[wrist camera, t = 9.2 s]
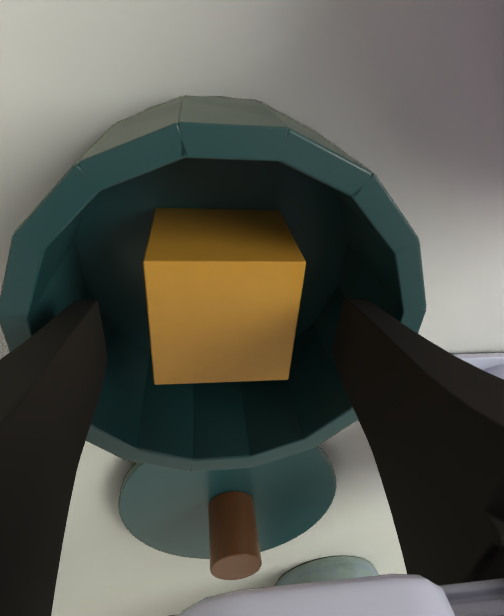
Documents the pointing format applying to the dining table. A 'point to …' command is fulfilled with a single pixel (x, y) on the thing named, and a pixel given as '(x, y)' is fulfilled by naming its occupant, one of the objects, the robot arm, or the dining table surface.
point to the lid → (227, 509)
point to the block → (221, 295)
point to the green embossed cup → (329, 570)
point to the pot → (212, 195)
